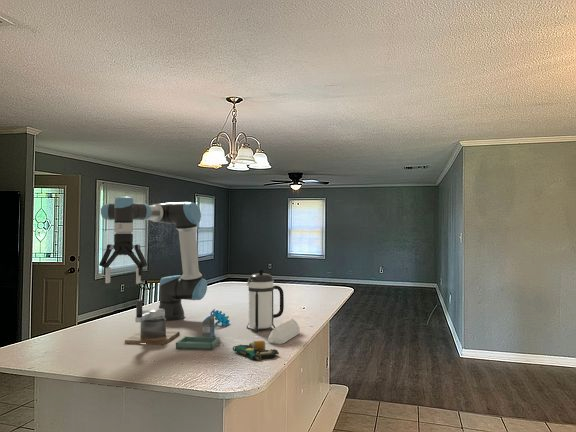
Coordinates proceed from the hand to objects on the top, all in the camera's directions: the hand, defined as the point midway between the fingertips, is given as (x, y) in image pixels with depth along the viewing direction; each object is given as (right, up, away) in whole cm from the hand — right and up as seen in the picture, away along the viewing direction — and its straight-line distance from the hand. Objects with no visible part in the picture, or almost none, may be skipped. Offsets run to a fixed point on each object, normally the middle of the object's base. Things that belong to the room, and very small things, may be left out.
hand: (123, 283), depth 184 cm
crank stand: (+9, -27, +12) cm, 31 cm away
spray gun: (+57, -27, -12) cm, 64 cm away
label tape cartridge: (+34, -28, +15) cm, 46 cm away
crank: (+8, -18, +7) cm, 21 cm away
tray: (+32, -27, 0) cm, 42 cm away
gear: (+36, -28, +39) cm, 60 cm away
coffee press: (+58, -28, +32) cm, 71 cm away
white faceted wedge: (+69, -28, +14) cm, 75 cm away
